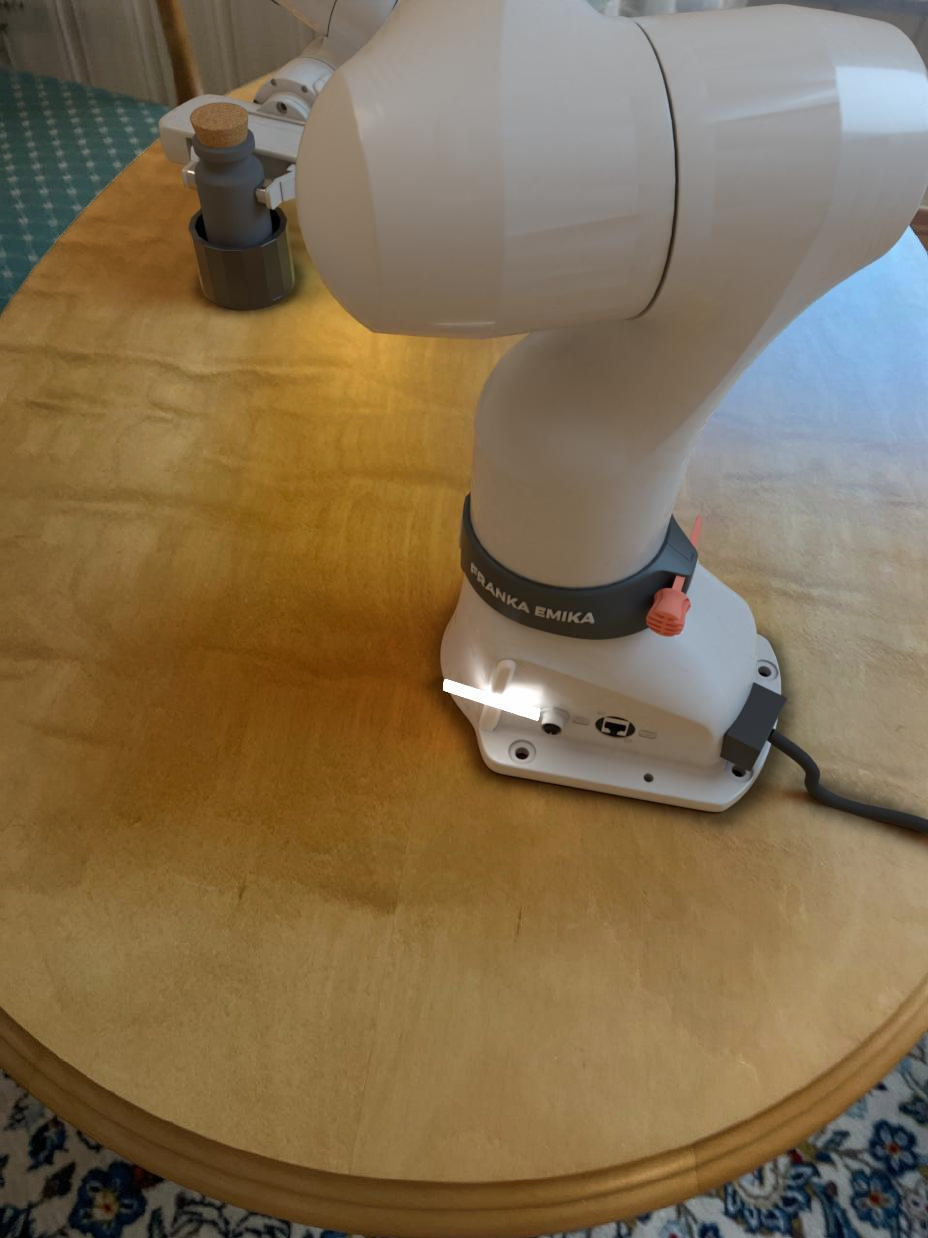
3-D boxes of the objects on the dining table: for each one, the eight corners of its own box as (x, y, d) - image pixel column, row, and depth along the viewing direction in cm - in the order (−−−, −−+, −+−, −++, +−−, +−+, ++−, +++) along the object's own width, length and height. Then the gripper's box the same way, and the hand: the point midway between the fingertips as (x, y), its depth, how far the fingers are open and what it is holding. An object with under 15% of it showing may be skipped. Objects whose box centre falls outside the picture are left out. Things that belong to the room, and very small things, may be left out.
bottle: (267, 300, 89) (241, 136, 77) (206, 291, 90) (171, 127, 78) (287, 264, 92) (265, 102, 80) (228, 256, 93) (197, 94, 81)
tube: (310, 269, 93) (303, 209, 88) (266, 319, 88) (256, 259, 83) (231, 248, 95) (220, 189, 90) (184, 296, 90) (169, 236, 85)
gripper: (199, 63, 91) (113, 128, 83) (398, 106, 87) (328, 180, 79) (212, 131, 96) (132, 199, 88) (401, 175, 92) (334, 251, 84)
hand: (226, 190), depth 83 cm, fingers closed on bottle, 6 cm apart
